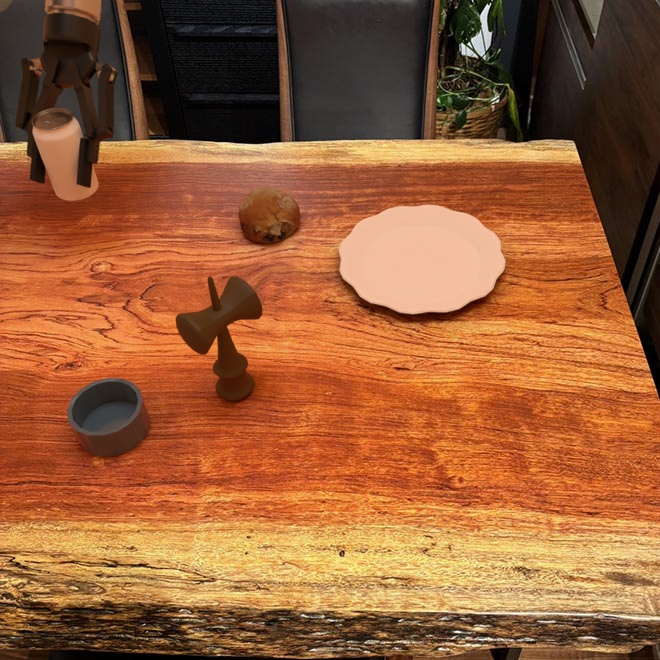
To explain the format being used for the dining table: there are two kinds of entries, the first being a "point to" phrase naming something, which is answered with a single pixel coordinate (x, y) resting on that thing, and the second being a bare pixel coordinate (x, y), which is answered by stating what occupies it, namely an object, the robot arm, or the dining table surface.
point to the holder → (109, 417)
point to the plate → (421, 259)
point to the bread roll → (268, 215)
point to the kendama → (223, 334)
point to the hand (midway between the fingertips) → (60, 183)
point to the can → (61, 152)
